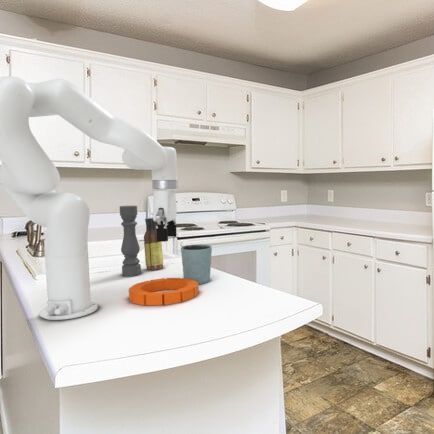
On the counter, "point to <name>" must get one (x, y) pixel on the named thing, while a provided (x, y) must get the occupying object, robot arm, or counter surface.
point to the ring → (146, 296)
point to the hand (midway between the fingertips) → (167, 238)
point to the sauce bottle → (152, 246)
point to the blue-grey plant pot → (196, 262)
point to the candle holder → (130, 242)
